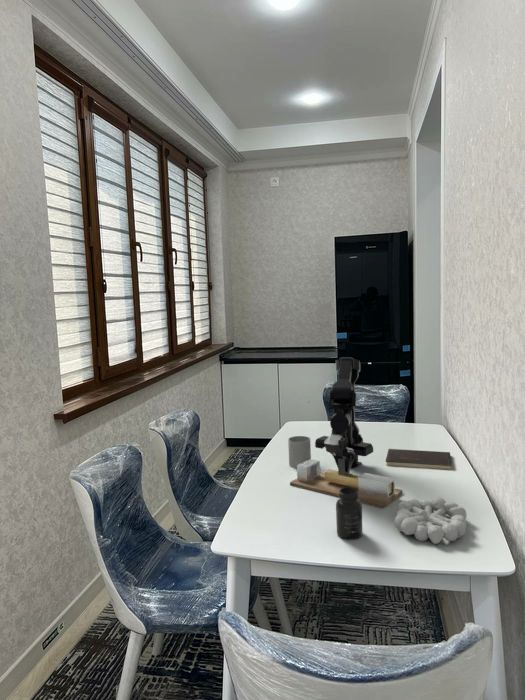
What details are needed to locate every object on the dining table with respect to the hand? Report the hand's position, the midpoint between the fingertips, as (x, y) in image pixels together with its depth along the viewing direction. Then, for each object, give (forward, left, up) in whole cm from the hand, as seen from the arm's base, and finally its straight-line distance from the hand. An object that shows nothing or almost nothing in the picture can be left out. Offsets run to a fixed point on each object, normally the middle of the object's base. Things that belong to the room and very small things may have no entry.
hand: (344, 471), depth 165 cm
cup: (-12, -26, -6) cm, 29 cm away
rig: (0, 0, -5) cm, 5 cm away
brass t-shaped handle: (0, +5, -4) cm, 6 cm away
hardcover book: (-40, +9, -7) cm, 41 cm away
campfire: (+11, +33, -6) cm, 35 cm away
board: (0, 0, -6) cm, 6 cm away
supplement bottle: (+27, +17, -6) cm, 33 cm away
